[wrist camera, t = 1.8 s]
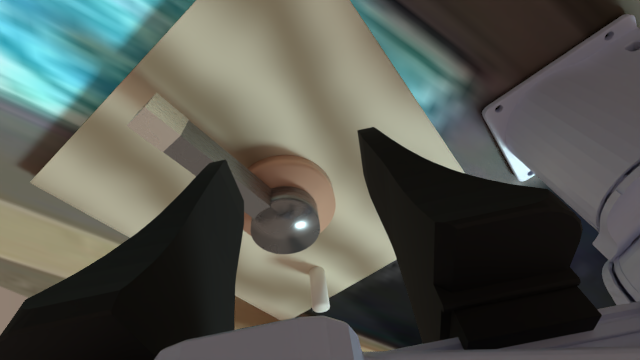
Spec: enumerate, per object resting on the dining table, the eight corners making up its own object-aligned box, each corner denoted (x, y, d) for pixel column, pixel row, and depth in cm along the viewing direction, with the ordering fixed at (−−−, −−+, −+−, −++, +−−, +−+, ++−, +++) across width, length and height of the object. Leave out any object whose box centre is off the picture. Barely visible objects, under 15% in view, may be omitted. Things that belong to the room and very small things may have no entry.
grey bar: (330, 212, 23) (333, 231, 21) (283, 243, 24) (283, 263, 23) (175, 73, 16) (164, 86, 15) (122, 126, 18) (108, 143, 16)
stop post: (317, 255, 29) (322, 300, 26) (326, 262, 30) (333, 307, 26) (305, 263, 30) (308, 307, 26) (314, 270, 30) (319, 314, 27)
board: (284, -95, 15) (285, -97, 14) (481, 199, 27) (487, 207, 26) (39, 173, 22) (29, 182, 21) (284, 313, 34) (284, 323, 33)
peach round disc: (288, 135, 21) (288, 146, 20) (351, 197, 24) (355, 210, 23) (213, 194, 23) (210, 208, 22) (282, 244, 27) (282, 257, 25)
